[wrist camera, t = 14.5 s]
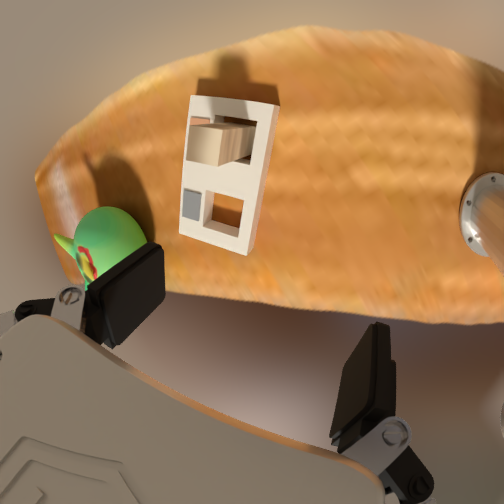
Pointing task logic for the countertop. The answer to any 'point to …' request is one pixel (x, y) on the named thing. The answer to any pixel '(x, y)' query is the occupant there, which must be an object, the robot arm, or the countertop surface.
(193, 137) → the maple peg
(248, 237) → the socket block
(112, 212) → the toy bird
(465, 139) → the countertop surface
